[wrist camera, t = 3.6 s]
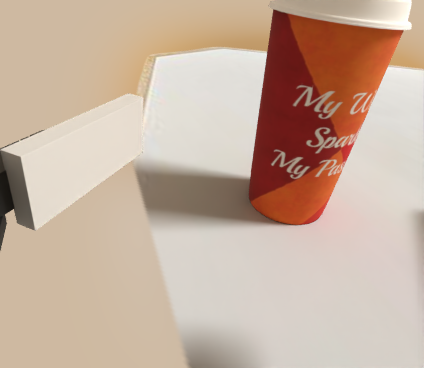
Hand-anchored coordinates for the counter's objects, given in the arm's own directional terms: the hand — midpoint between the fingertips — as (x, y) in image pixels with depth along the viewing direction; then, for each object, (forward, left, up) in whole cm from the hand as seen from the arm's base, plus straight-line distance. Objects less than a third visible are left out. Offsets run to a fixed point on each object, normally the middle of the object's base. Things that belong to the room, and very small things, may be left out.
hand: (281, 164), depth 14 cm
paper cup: (-8, -5, -8) cm, 13 cm away
